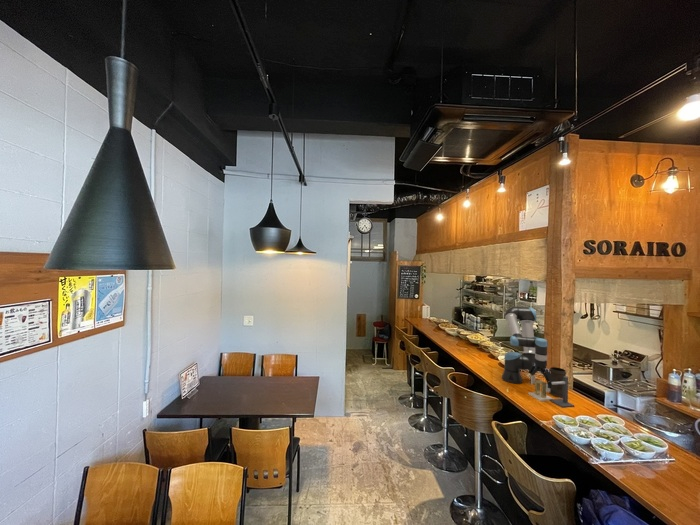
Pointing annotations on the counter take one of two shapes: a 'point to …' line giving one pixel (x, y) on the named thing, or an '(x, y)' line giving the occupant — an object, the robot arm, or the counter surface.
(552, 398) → the plate
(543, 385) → the link
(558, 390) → the beer stein
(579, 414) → the counter surface
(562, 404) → the stand
